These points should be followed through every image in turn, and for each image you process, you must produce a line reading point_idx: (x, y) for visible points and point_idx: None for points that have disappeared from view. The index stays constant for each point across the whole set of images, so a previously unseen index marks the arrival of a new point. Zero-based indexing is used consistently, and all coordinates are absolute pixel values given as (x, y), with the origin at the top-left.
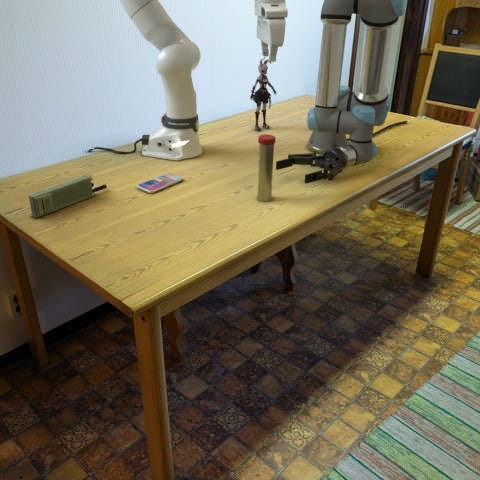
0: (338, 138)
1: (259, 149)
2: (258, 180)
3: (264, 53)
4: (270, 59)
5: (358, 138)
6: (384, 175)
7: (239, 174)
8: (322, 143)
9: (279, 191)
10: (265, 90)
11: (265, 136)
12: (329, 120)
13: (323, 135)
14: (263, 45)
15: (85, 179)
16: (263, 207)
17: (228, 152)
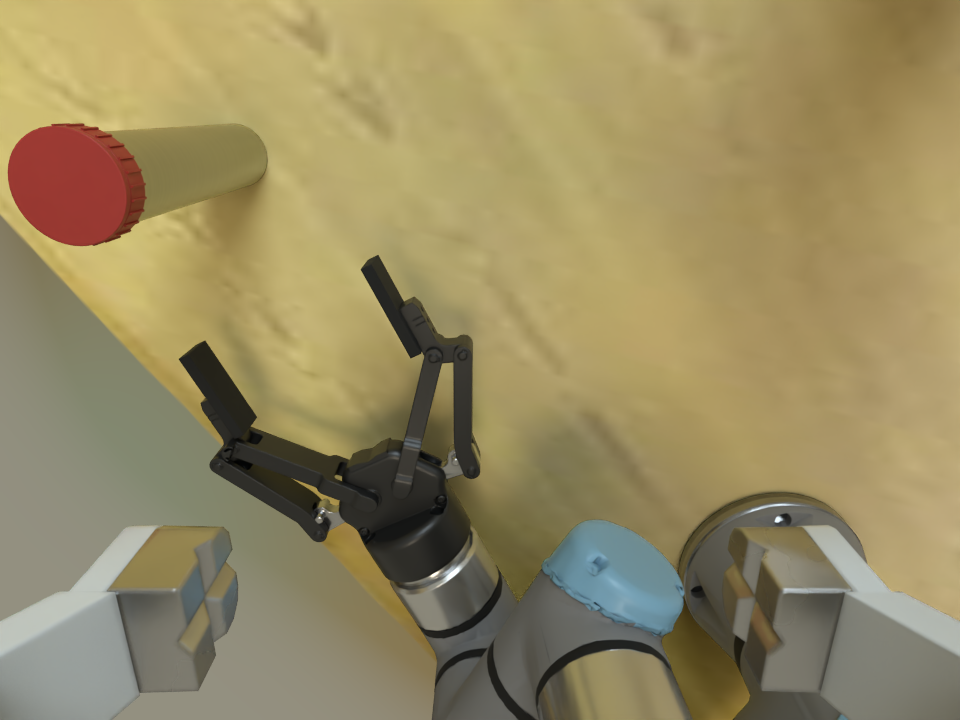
0: (714, 628)
1: (105, 131)
2: (197, 126)
3: (761, 575)
4: (117, 546)
5: (442, 683)
6: (430, 651)
7: (535, 91)
8: (722, 554)
9: (312, 240)
10: None
11: (77, 179)
12: (516, 641)
13: None
14: (951, 692)
15: None
16: None
17: (870, 87)
